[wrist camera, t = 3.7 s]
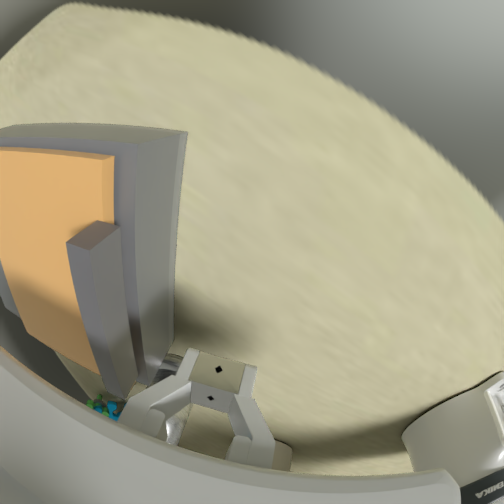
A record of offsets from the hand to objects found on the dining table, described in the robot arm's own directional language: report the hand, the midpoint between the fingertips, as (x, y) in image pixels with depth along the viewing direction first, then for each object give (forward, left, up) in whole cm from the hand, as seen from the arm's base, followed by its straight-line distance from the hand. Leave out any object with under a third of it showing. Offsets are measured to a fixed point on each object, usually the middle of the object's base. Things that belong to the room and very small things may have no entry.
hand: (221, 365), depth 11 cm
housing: (+13, 0, -7) cm, 15 cm away
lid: (+11, 0, -2) cm, 11 cm away
